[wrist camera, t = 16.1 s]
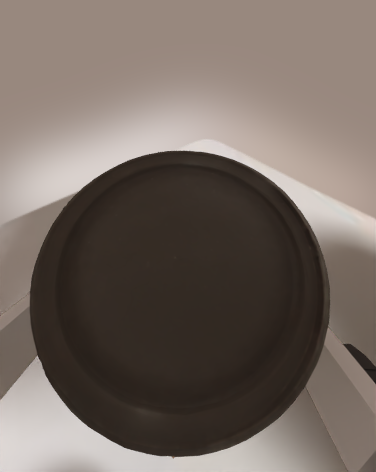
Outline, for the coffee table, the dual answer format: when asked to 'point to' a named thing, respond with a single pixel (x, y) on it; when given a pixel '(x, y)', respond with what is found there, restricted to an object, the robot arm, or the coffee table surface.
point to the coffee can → (179, 303)
